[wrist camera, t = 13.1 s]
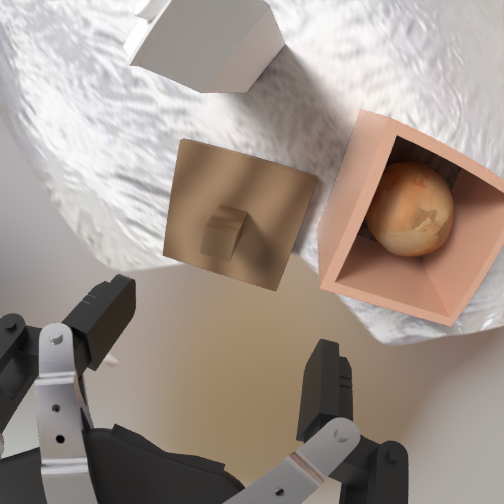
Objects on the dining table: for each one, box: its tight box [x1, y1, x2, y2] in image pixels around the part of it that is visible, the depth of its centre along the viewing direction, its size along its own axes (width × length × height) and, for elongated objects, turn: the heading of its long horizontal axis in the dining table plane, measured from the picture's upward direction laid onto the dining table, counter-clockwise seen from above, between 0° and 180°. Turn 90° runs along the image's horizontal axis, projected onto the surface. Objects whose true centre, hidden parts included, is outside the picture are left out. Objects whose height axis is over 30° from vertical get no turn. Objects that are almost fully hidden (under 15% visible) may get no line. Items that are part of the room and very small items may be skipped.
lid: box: [163, 138, 318, 291], centre depth 34 cm, size 16×16×7 cm
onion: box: [365, 161, 454, 256], centre depth 28 cm, size 10×10×10 cm
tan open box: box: [317, 109, 504, 327], centre depth 27 cm, size 15×15×12 cm
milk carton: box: [124, 0, 285, 93], centre depth 20 cm, size 7×7×19 cm
